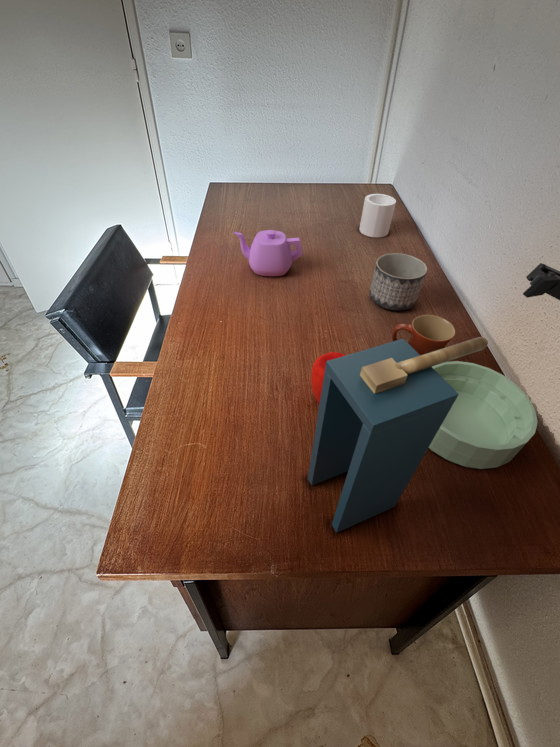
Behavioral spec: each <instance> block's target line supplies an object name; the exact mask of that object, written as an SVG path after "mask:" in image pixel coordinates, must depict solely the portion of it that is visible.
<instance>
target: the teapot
mask: <svg viewBox="0 0 560 747" xmlns="http://www.w3.org/2000/svg"><path fill="white" fill-rule="evenodd" d="M232 233H233V234H235V236H237V238H238V239H239V240H238V241H239V244H240V250H241V254H242V256H243V257H244V258H245V259H247V260H248V264H249V267H250V269H251V270H252V271H253V272H254V273H255V274H256V275H259V276H262V277H280V276H284V275H286V273H288V272H289V270H290V268H291V267H292V265H293V262H295V261H296V260H298V259H299V258H300V257H302V256H303V255H304V254H303V249H302V244H301V239H300V237H290V238H287V236H286V233H285V232H283V231H280V230H274V229H266V230H260V231H258V232H257V233H256V234H255V236H254V239H253V241H252V242H251V244H250V245H251V246H248V244H247V242H246V238H245V236H244V234H243V233H241V232H239V231H235V230H234V231H232ZM293 245H295V250H294V251H293V250H292V247H291V246H293Z"/></svg>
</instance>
